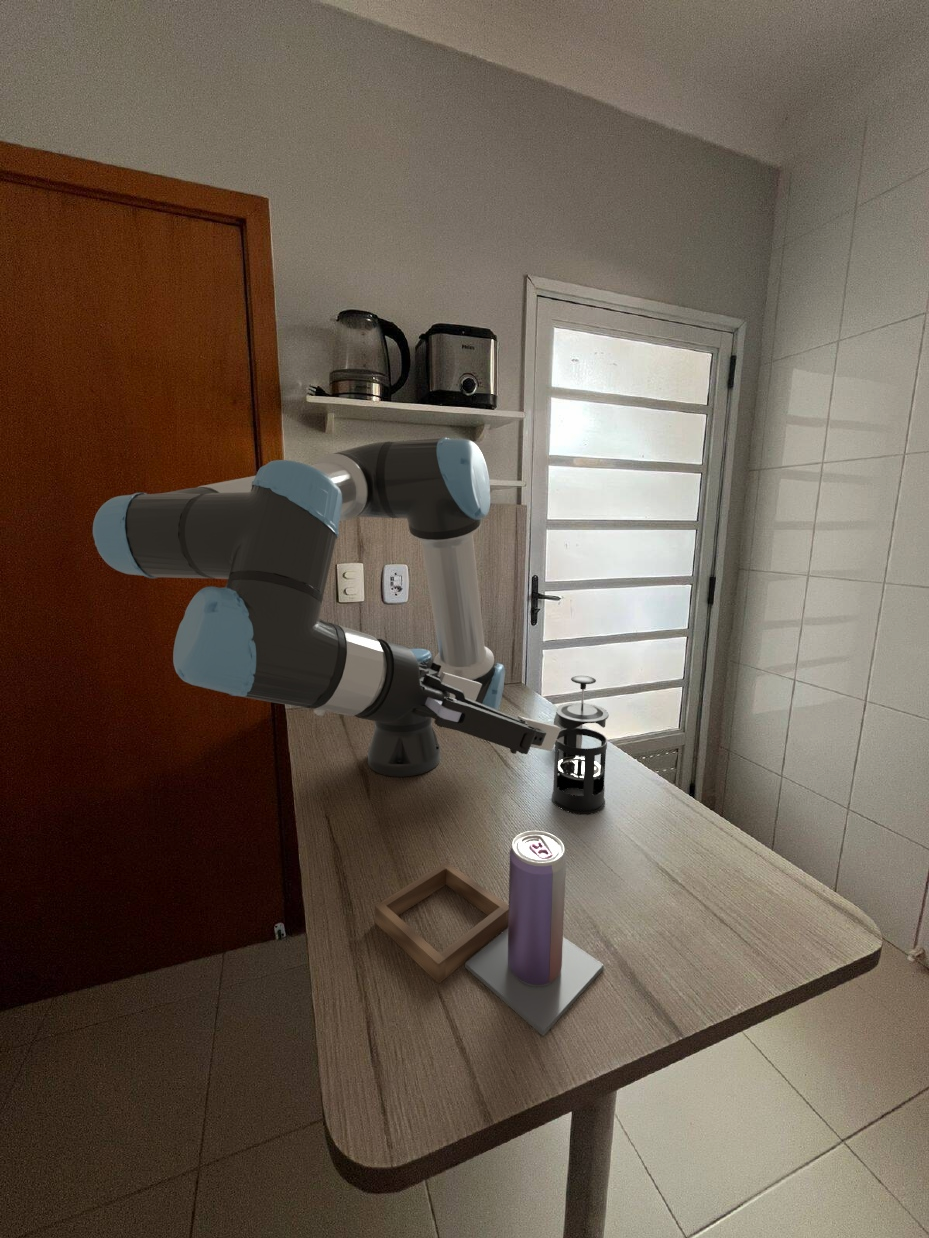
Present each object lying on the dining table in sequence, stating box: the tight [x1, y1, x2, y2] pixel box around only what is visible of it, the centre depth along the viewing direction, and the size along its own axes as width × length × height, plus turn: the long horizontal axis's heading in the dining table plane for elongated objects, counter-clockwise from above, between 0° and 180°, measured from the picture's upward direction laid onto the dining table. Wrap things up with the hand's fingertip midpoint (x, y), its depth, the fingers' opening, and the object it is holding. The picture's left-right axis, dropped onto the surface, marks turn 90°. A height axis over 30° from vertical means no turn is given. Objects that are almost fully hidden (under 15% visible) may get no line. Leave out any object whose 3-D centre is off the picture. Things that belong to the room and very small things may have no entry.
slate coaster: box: [464, 927, 604, 1037], centre depth 58 cm, size 11×11×1 cm
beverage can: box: [507, 830, 567, 987], centre depth 56 cm, size 6×6×15 cm
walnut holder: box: [374, 861, 509, 984], centre depth 64 cm, size 12×12×2 cm
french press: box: [551, 675, 609, 815], centre depth 91 cm, size 12×9×23 cm
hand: (512, 713), depth 61 cm, fingers open, 13 cm apart
